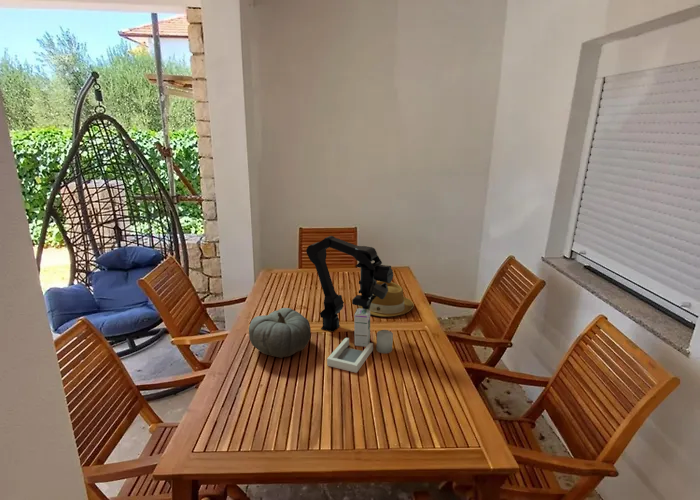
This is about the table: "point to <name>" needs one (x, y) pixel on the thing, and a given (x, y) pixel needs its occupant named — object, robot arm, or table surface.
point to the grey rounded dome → (384, 341)
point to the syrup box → (362, 327)
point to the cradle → (348, 357)
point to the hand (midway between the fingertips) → (366, 313)
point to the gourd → (280, 332)
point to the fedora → (391, 302)
